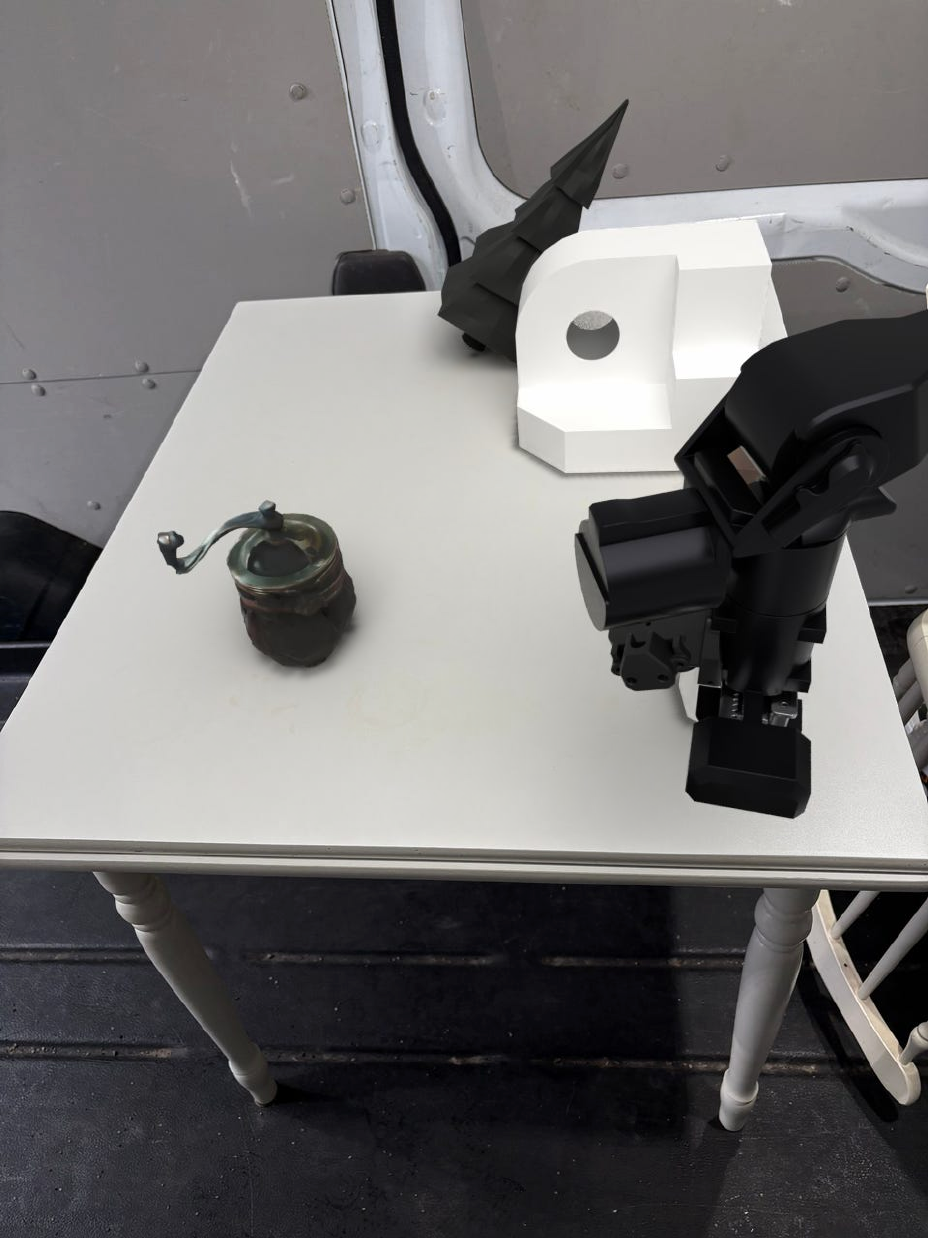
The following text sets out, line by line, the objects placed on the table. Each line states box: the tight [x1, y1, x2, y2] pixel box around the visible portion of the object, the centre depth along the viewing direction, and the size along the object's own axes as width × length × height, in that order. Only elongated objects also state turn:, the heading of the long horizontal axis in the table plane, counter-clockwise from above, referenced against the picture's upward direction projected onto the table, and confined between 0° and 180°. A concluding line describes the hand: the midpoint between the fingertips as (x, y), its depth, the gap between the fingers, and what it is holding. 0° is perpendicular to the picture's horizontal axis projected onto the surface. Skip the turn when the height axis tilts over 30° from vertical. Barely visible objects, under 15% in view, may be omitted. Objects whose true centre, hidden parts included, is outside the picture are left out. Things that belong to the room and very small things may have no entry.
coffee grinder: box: [156, 499, 358, 668], centre depth 74 cm, size 13×15×18 cm
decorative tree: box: [436, 98, 630, 365], centre depth 106 cm, size 15×15×35 cm
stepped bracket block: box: [516, 218, 773, 474], centre depth 93 cm, size 26×17×20 cm, turn 84°
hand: (735, 748), depth 56 cm, fingers closed
